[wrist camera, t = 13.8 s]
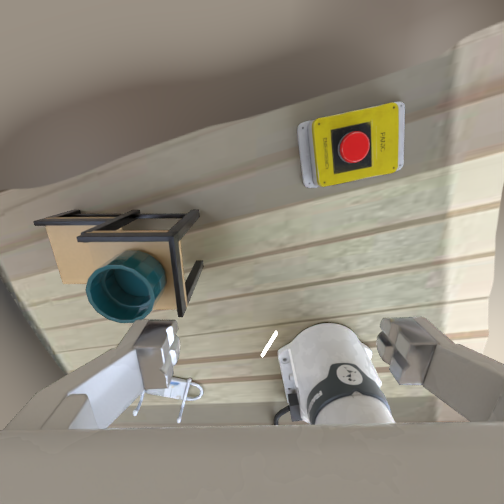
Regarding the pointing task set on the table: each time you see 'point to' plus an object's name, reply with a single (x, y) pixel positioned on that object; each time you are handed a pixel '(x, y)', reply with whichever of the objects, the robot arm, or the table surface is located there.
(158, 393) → the wall mount rack
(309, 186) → the emergency button
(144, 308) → the cup
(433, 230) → the table surface
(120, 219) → the rack
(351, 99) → the table surface
